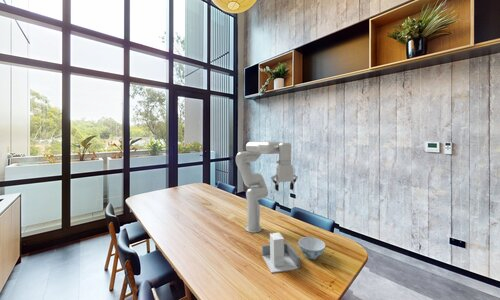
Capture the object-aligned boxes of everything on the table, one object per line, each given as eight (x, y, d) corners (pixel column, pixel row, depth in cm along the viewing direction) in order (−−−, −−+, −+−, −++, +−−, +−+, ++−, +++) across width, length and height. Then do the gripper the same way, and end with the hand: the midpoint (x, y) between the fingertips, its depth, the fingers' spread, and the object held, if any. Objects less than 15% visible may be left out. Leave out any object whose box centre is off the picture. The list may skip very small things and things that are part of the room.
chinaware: (293, 251, 123) (293, 239, 122) (313, 247, 128) (313, 235, 127) (308, 266, 109) (308, 252, 108) (330, 260, 114) (331, 247, 113)
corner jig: (261, 255, 118) (262, 245, 118) (287, 251, 122) (287, 242, 122) (271, 273, 103) (271, 261, 102) (300, 268, 107) (300, 257, 106)
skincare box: (284, 266, 107) (285, 239, 106) (273, 267, 106) (274, 240, 105) (279, 257, 116) (279, 231, 115) (269, 258, 114) (269, 232, 114)
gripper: (273, 163, 119) (273, 192, 120) (300, 163, 123) (299, 190, 124) (269, 162, 126) (269, 189, 127) (294, 161, 130) (294, 187, 131)
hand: (284, 190), depth 126 cm, fingers open, 9 cm apart
